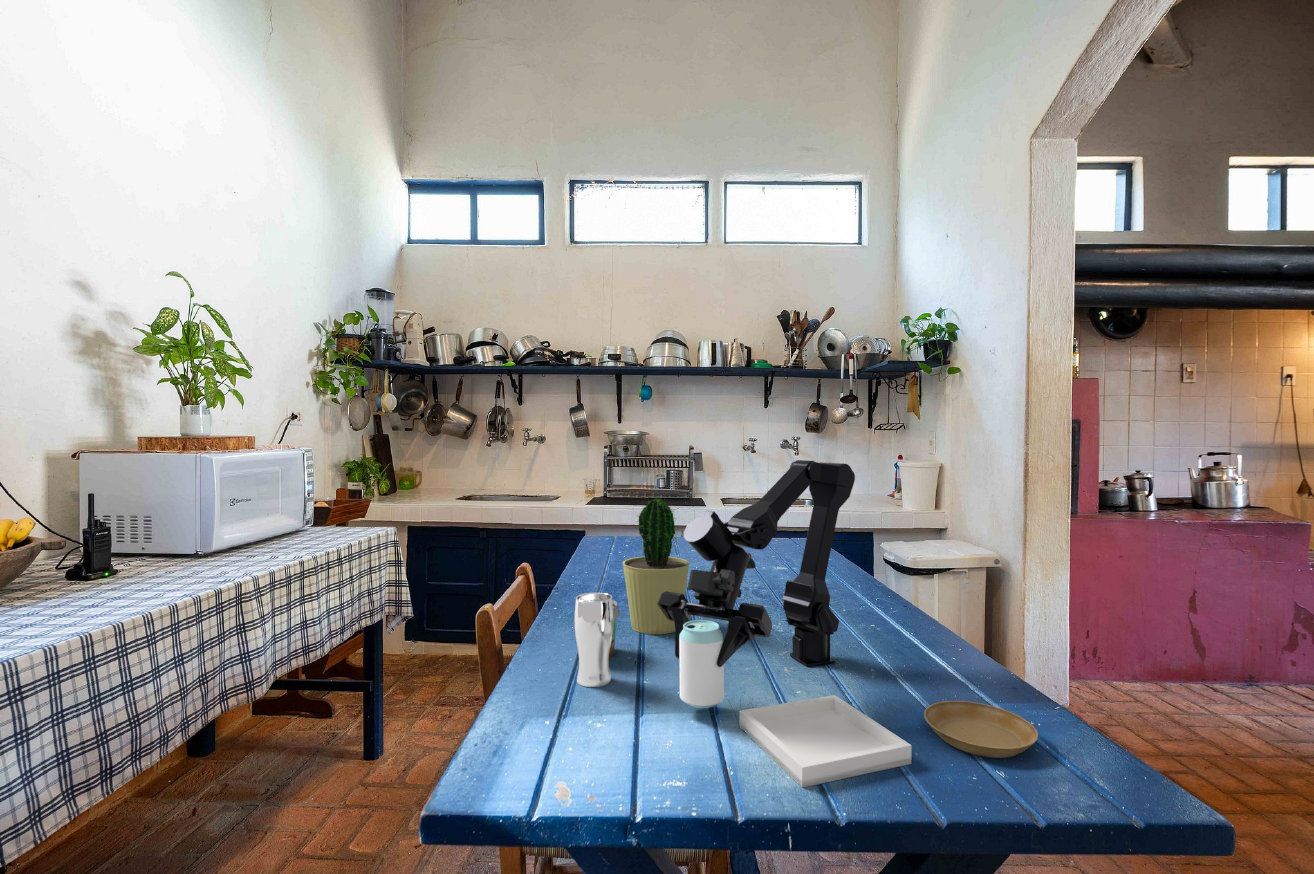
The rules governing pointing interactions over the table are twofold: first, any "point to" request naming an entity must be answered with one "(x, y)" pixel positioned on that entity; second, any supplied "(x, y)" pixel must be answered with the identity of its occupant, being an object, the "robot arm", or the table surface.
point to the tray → (823, 740)
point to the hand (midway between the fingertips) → (697, 661)
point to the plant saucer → (980, 728)
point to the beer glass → (593, 637)
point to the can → (701, 664)
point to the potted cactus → (654, 570)
